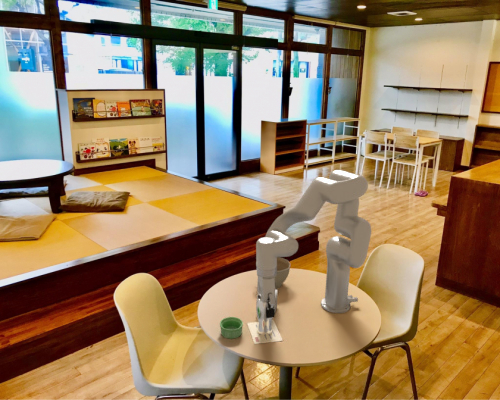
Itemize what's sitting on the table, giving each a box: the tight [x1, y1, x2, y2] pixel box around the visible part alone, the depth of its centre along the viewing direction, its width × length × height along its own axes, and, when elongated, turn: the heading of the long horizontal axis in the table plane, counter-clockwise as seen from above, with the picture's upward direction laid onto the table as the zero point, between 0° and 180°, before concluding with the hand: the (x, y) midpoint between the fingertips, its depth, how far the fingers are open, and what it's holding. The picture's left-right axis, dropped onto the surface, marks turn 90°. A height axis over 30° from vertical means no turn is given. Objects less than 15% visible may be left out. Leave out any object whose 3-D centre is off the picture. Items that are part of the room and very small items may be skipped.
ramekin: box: [219, 316, 244, 340], centre depth 162 cm, size 9×9×4 cm
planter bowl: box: [255, 257, 291, 289], centre depth 200 cm, size 16×16×11 cm
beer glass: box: [255, 293, 274, 335], centre depth 162 cm, size 7×7×15 cm
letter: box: [246, 319, 284, 345], centre depth 164 cm, size 11×14×1 cm
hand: (267, 310), depth 162 cm, fingers open, 9 cm apart
